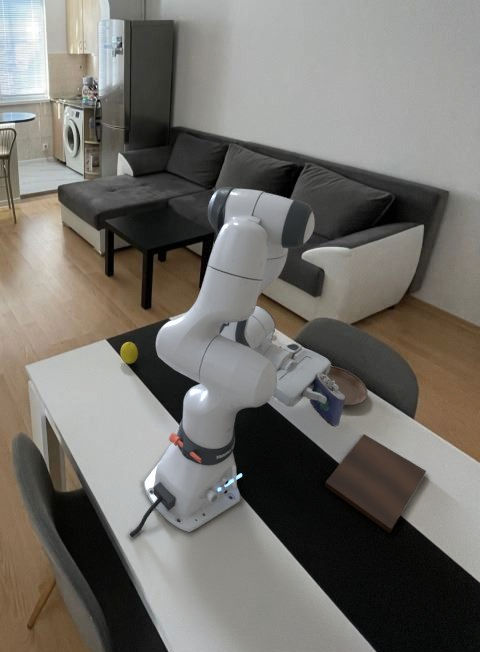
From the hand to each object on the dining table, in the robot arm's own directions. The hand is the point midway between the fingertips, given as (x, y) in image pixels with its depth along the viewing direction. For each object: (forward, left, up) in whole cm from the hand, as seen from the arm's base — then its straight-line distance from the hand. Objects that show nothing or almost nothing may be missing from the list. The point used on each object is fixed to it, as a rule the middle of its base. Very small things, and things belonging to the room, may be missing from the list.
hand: (332, 395), depth 105 cm
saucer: (+17, +5, -13) cm, 22 cm away
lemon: (-20, +52, -13) cm, 57 cm away
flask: (0, +1, -7) cm, 7 cm away
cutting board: (-4, -13, -13) cm, 19 cm away
